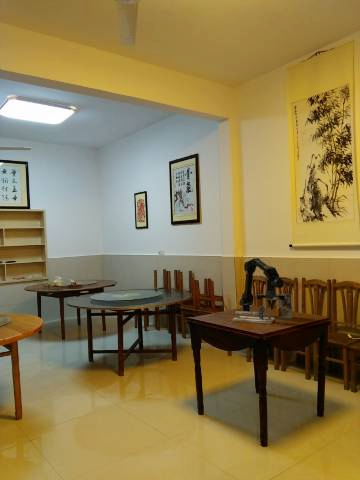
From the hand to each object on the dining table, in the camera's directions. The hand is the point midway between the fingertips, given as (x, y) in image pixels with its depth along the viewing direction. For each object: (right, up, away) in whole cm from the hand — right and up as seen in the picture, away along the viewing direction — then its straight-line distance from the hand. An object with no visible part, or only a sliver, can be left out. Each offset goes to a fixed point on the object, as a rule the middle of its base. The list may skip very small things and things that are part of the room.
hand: (271, 309), depth 260 cm
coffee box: (+12, -8, +11) cm, 18 cm away
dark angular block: (-6, -6, +3) cm, 9 cm away
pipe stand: (-11, -8, +5) cm, 15 cm away
